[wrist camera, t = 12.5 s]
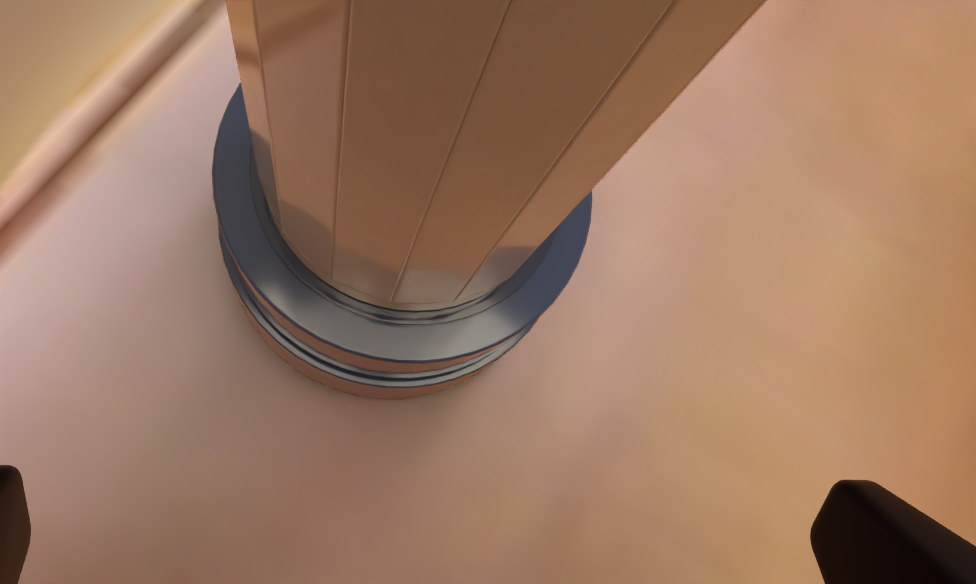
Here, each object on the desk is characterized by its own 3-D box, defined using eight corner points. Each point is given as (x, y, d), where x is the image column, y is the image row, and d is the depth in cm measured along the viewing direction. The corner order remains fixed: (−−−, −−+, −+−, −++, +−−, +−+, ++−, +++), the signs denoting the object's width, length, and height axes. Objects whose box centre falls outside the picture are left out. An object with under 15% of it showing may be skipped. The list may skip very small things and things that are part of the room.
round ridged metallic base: (536, 410, 22) (602, 386, 17) (206, 386, 20) (168, 351, 15) (544, 125, 24) (605, 29, 19) (250, 81, 22) (231, -39, 17)
